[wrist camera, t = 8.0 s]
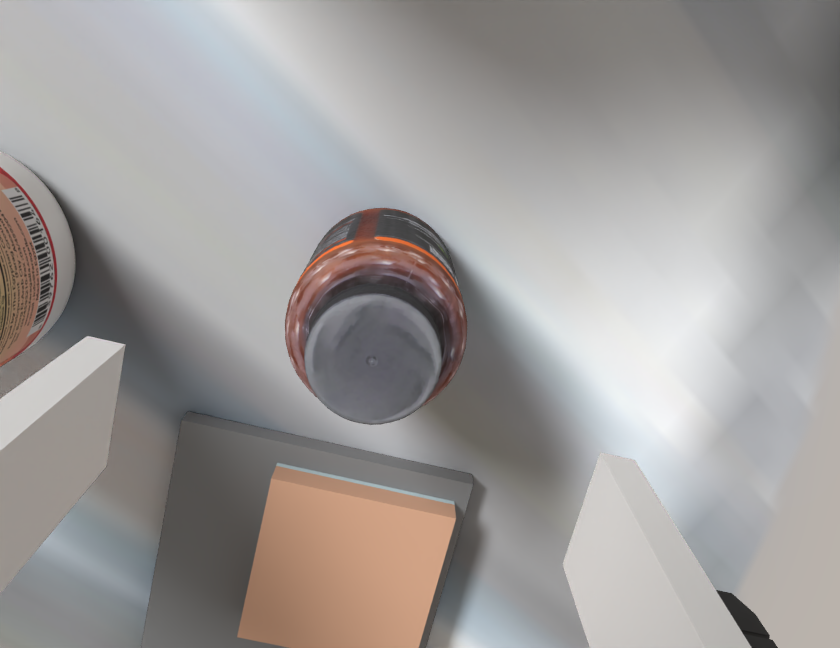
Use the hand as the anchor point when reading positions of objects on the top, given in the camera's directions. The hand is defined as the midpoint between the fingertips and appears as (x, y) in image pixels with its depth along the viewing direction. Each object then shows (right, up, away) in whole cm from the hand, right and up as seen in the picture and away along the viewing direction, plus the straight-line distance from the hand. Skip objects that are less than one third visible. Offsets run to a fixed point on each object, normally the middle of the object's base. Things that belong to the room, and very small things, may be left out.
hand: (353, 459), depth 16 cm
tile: (-6, -7, +19) cm, 21 cm away
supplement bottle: (0, +5, +17) cm, 18 cm away
